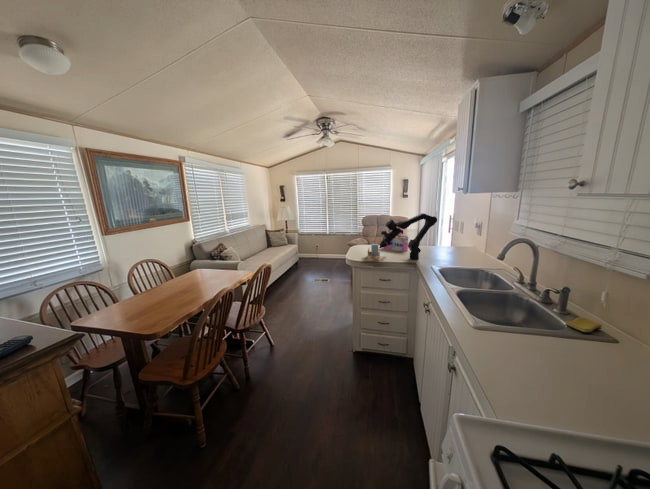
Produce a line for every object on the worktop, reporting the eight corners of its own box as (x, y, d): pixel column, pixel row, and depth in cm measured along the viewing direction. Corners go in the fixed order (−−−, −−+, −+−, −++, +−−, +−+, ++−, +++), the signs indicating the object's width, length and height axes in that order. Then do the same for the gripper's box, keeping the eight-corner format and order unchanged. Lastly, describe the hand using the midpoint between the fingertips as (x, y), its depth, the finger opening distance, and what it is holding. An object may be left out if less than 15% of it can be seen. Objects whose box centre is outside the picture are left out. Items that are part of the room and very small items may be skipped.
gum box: (382, 247, 245) (382, 234, 242) (386, 246, 250) (387, 233, 247) (403, 252, 227) (403, 237, 224) (407, 250, 232) (408, 236, 229)
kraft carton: (386, 257, 211) (386, 248, 209) (387, 261, 196) (387, 252, 195) (368, 256, 214) (368, 247, 212) (367, 261, 200) (367, 251, 198)
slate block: (378, 257, 208) (378, 243, 205) (377, 259, 202) (378, 245, 200) (371, 257, 209) (371, 243, 206) (371, 259, 204) (371, 245, 201)
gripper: (386, 225, 207) (373, 237, 211) (387, 228, 189) (372, 241, 194) (395, 234, 207) (382, 246, 211) (397, 238, 189) (382, 251, 194)
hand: (379, 246), depth 202 cm, fingers open, 9 cm apart
